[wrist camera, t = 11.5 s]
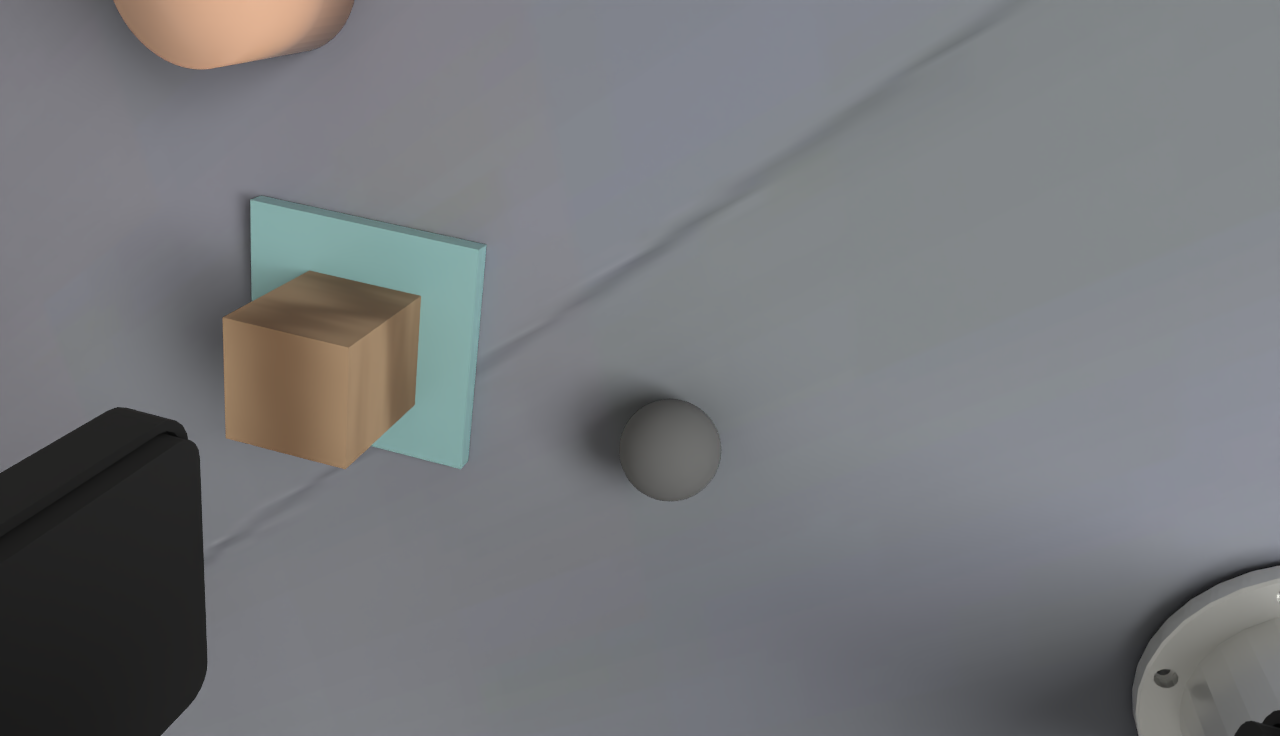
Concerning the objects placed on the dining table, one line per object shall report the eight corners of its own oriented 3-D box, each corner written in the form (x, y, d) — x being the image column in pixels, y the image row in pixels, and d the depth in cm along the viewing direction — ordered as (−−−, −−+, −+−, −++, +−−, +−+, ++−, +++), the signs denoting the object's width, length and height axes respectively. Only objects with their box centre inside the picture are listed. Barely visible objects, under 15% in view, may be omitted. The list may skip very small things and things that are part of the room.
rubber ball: (736, 396, 41) (719, 439, 38) (719, 482, 43) (701, 531, 39) (640, 373, 42) (614, 414, 38) (626, 459, 44) (601, 505, 40)
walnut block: (421, 295, 42) (348, 347, 37) (414, 405, 44) (345, 469, 39) (309, 270, 43) (222, 317, 37) (308, 378, 45) (225, 438, 40)
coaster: (486, 244, 41) (479, 250, 41) (468, 460, 45) (461, 469, 45) (261, 195, 43) (250, 199, 42) (263, 408, 47) (253, 415, 46)
